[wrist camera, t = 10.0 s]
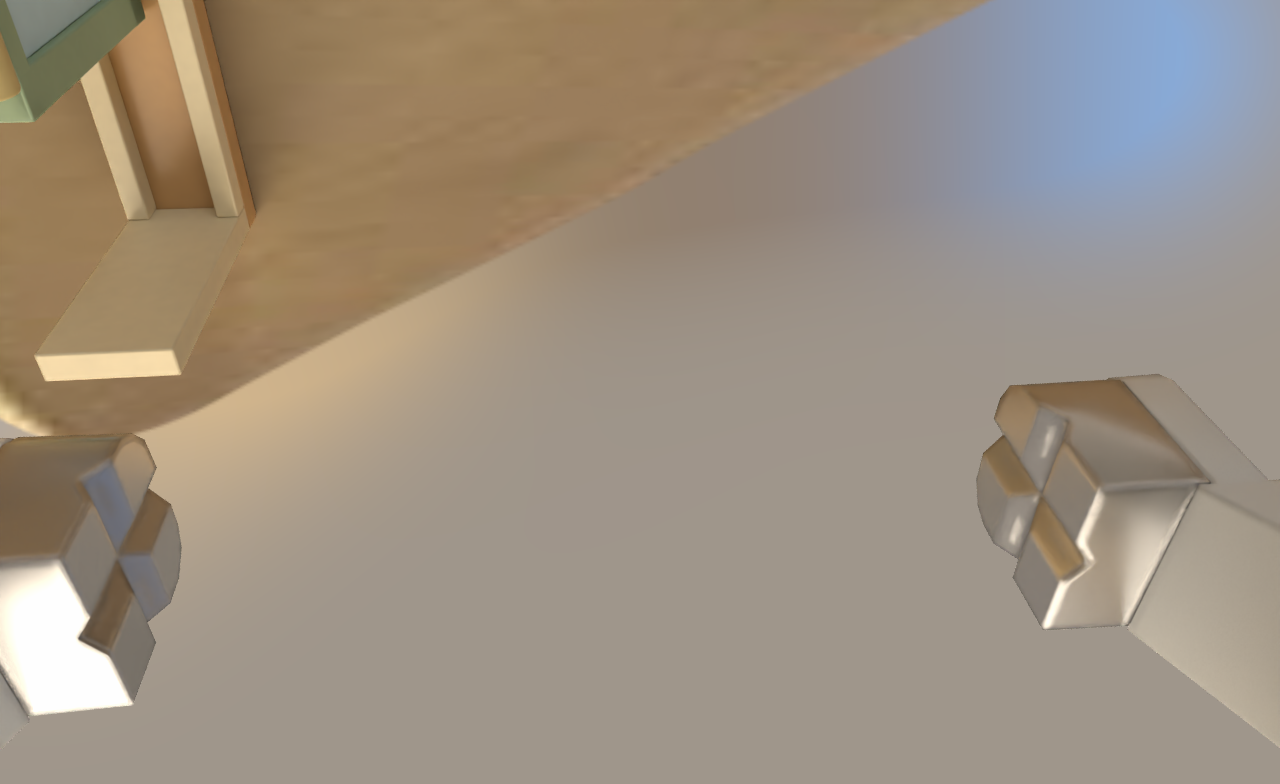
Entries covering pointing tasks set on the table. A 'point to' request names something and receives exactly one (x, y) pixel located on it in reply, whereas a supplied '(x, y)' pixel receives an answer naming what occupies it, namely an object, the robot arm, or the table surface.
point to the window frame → (158, 202)
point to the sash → (55, 48)
